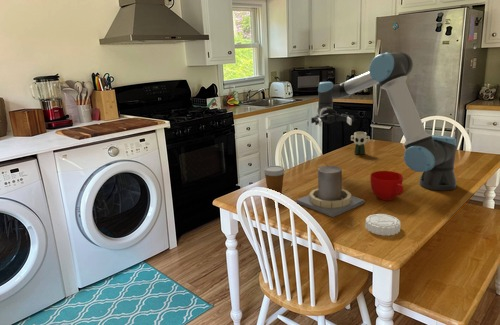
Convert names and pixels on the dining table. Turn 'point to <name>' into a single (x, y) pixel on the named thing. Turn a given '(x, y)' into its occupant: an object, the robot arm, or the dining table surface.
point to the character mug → (360, 141)
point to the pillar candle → (329, 183)
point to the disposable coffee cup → (274, 177)
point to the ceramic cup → (386, 184)
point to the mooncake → (382, 224)
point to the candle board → (330, 210)
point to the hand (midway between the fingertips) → (335, 122)
